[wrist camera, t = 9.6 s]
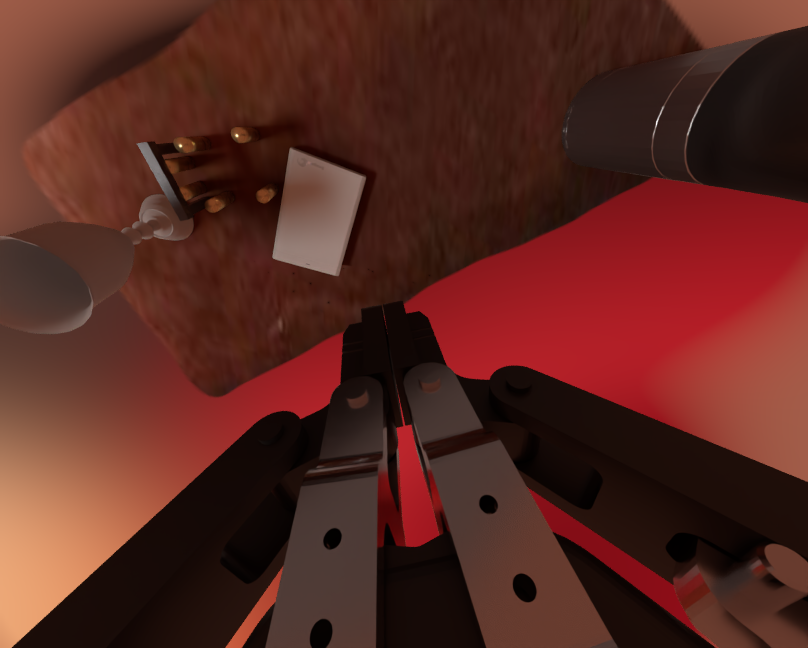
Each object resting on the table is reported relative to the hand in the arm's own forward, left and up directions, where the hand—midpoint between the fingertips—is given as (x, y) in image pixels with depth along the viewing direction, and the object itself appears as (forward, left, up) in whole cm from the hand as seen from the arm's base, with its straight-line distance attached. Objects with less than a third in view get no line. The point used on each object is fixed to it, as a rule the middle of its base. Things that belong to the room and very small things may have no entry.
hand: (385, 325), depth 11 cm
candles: (+12, -5, -29) cm, 32 cm away
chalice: (+22, -1, -29) cm, 37 cm away
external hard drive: (+3, -4, -28) cm, 29 cm away
